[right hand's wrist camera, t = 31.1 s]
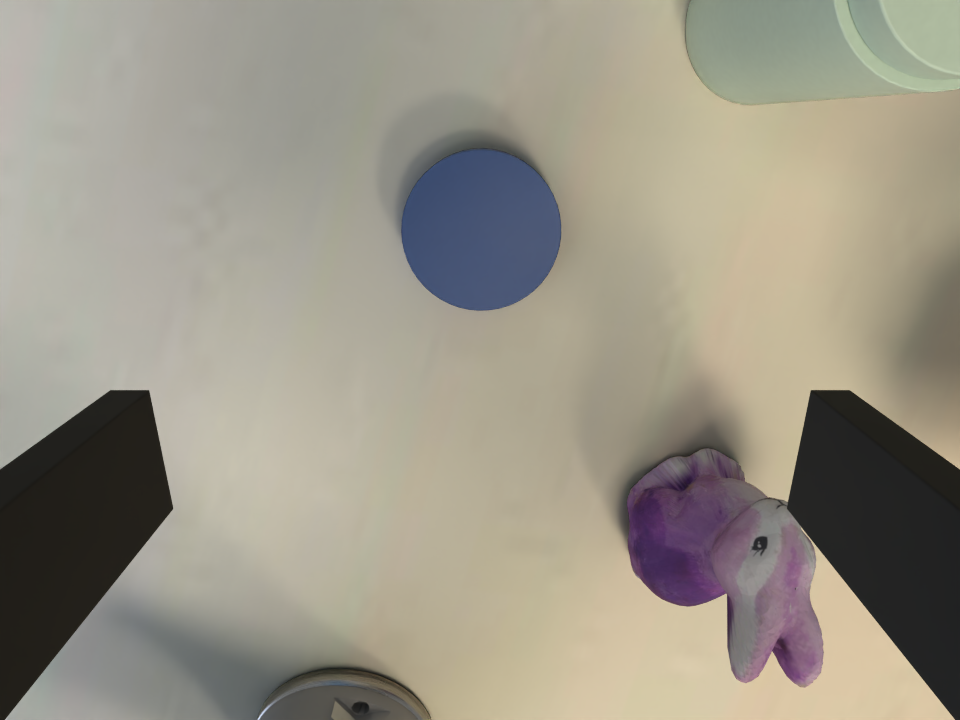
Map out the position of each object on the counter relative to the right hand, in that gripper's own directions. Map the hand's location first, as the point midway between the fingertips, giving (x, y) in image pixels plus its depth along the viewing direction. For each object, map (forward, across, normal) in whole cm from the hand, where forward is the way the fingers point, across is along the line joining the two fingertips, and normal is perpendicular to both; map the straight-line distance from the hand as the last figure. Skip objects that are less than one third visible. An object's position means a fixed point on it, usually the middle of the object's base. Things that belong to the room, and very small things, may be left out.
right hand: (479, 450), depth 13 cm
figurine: (+28, -15, +19) cm, 37 cm away
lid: (+26, 0, 0) cm, 26 cm away
